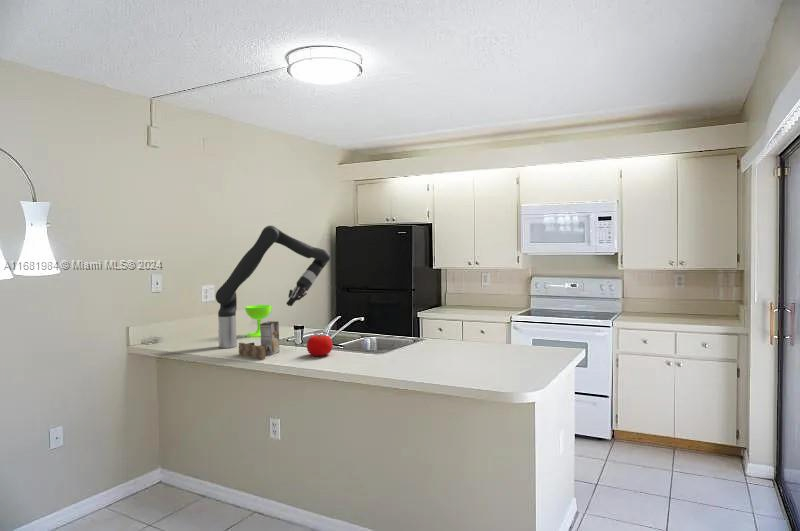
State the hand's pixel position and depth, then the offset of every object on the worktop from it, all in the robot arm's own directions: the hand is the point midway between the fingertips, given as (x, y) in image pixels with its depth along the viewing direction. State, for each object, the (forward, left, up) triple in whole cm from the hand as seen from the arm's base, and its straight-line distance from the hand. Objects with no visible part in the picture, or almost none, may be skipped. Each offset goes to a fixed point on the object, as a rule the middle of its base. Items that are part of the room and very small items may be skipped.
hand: (288, 304), depth 302 cm
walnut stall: (0, -21, -24) cm, 32 cm away
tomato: (+25, 0, -24) cm, 35 cm away
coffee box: (0, -12, -24) cm, 27 cm away
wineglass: (-56, +17, -24) cm, 63 cm away
